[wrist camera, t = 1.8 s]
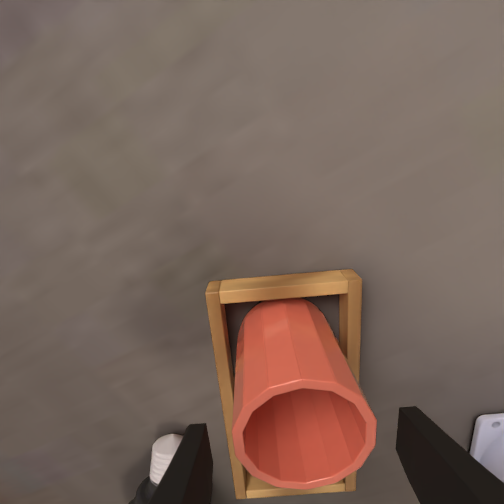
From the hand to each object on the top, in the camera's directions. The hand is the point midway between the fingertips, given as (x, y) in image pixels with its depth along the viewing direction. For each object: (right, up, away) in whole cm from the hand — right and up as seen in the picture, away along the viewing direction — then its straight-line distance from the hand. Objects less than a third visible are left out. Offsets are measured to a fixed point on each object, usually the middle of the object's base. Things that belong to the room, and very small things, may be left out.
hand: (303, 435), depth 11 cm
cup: (0, +2, +6) cm, 6 cm away
